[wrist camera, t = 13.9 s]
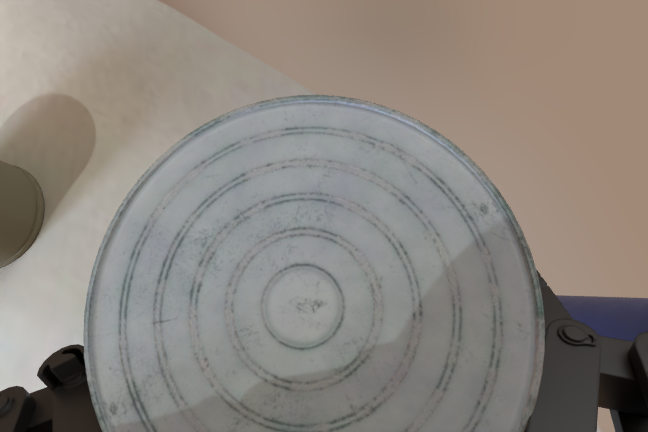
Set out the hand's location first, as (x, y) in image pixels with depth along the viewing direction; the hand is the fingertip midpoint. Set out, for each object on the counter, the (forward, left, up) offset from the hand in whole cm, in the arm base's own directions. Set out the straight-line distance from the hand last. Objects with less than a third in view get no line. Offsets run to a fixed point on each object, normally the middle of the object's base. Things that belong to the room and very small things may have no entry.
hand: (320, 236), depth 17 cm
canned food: (-1, +3, -5) cm, 6 cm away
